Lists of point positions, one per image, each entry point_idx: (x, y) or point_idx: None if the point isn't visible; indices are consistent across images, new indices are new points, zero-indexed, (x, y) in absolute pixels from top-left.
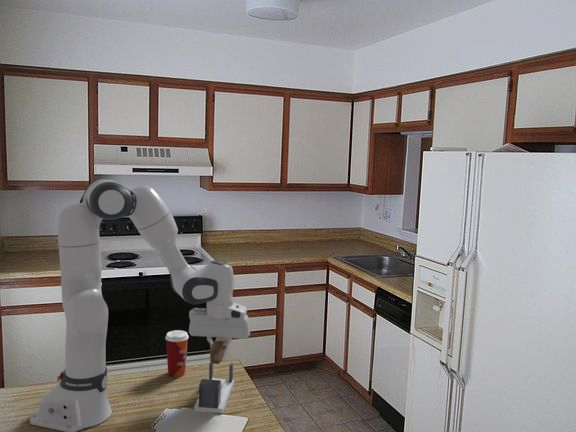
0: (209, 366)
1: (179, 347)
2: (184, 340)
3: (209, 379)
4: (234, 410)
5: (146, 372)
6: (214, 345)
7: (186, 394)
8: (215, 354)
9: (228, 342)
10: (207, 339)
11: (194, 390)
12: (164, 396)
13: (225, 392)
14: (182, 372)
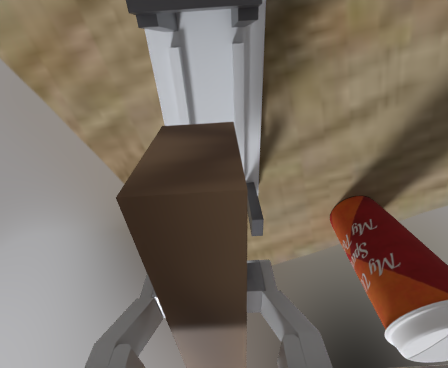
0: (261, 212)
1: (410, 276)
2: (408, 312)
3: (253, 184)
4: (103, 10)
5: (437, 204)
6: (222, 266)
7: (313, 102)
8: (184, 158)
9: (122, 325)
10: (315, 332)
11: (290, 134)
12: (392, 71)
13: (176, 117)
14: (340, 211)
